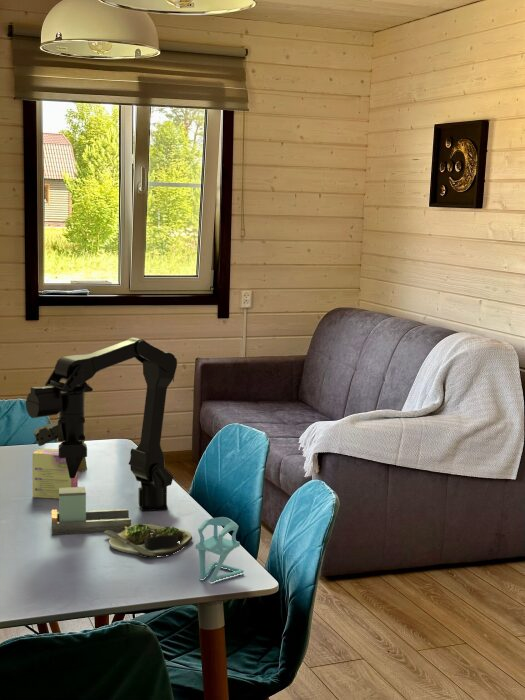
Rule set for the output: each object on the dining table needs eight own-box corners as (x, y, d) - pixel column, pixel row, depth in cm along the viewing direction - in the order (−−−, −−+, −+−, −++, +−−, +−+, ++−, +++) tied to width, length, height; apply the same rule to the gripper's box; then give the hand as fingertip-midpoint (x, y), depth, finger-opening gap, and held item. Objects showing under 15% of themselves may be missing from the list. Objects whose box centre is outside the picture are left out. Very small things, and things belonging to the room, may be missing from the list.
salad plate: (84, 550, 202) (84, 530, 201) (128, 525, 218) (128, 507, 218) (160, 565, 194) (161, 545, 194) (200, 539, 210) (200, 520, 210)
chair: (190, 578, 188) (190, 522, 186) (214, 565, 194) (215, 511, 192) (220, 587, 183) (221, 530, 181) (244, 574, 190) (245, 518, 188)
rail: (128, 518, 222) (128, 504, 222) (131, 530, 214) (131, 516, 213) (51, 521, 218) (51, 507, 218) (52, 535, 210) (51, 520, 209)
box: (78, 493, 241) (78, 449, 239) (71, 500, 235) (71, 455, 233) (39, 491, 242) (39, 447, 240) (32, 498, 236) (31, 453, 234)
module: (85, 519, 218) (85, 486, 217) (85, 525, 214) (85, 492, 212) (59, 520, 216) (59, 487, 215) (59, 527, 212) (59, 493, 211)
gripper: (36, 404, 218) (36, 468, 220) (35, 422, 200) (35, 491, 202) (83, 403, 221) (84, 466, 223) (87, 420, 203) (87, 489, 205)
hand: (72, 477), depth 213 cm, fingers closed
